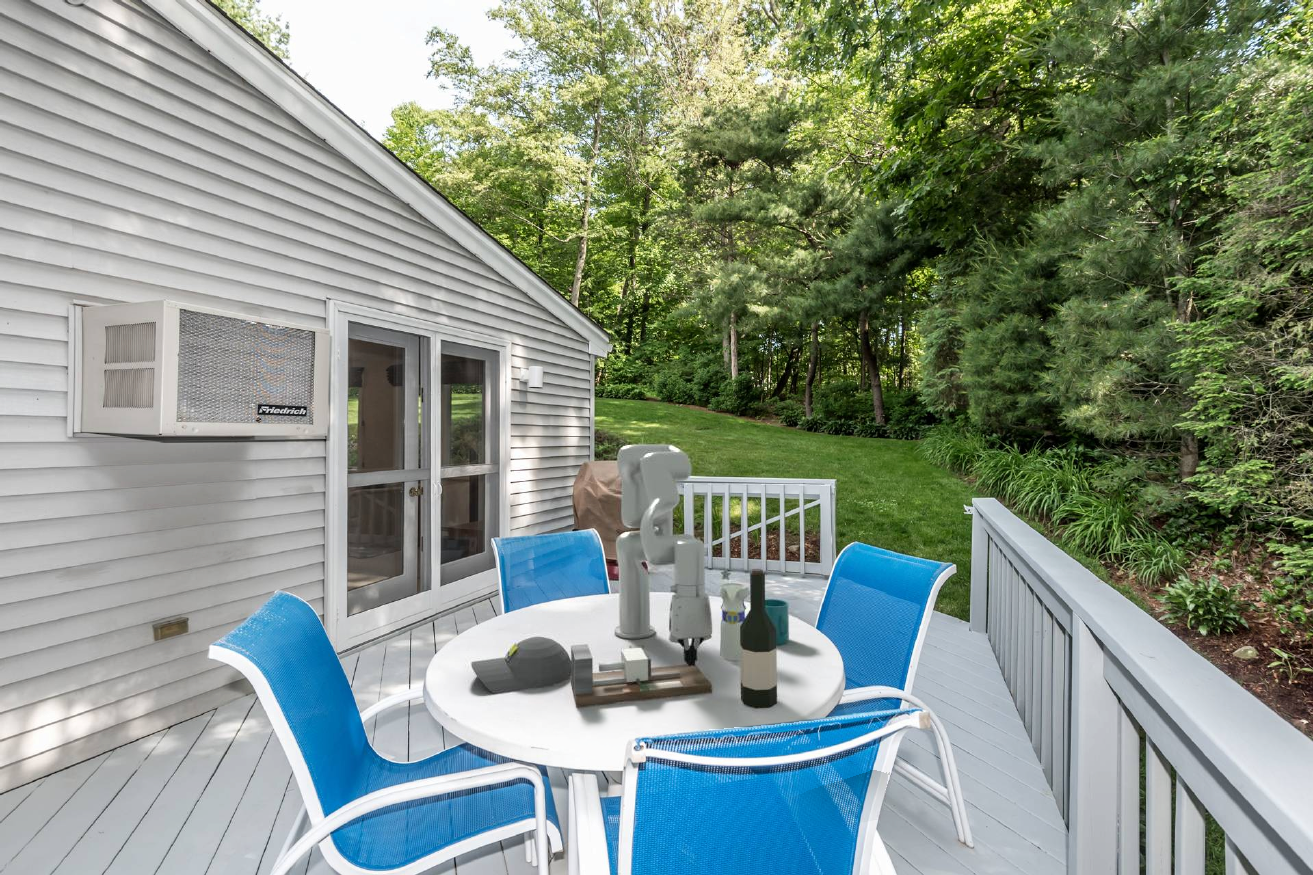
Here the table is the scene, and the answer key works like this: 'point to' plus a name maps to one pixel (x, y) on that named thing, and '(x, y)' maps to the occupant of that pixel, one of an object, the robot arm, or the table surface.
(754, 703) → the wine bottle
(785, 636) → the cup
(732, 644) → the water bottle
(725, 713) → the table surface
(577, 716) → the table surface
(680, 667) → the base
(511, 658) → the baseball cap
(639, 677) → the white block grey face
